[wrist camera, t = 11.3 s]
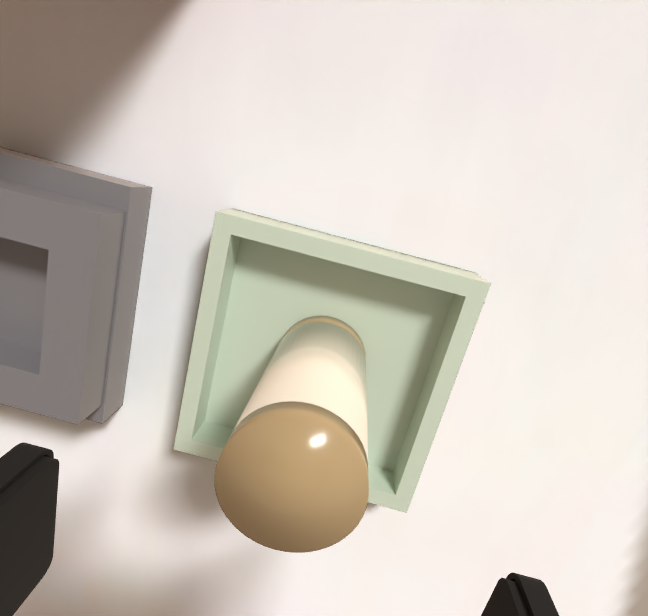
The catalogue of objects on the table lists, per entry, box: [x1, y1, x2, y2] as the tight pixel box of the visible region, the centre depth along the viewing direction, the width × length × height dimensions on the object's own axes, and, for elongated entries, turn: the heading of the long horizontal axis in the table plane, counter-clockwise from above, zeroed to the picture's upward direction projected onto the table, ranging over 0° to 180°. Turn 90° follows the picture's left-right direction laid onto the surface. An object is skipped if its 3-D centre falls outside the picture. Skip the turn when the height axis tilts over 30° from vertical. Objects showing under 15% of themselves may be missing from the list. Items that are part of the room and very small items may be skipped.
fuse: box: [215, 316, 369, 552], centre depth 17 cm, size 4×4×10 cm
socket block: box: [0, 147, 152, 425], centre depth 21 cm, size 12×10×4 cm
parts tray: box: [173, 209, 491, 513], centre depth 21 cm, size 12×12×2 cm
